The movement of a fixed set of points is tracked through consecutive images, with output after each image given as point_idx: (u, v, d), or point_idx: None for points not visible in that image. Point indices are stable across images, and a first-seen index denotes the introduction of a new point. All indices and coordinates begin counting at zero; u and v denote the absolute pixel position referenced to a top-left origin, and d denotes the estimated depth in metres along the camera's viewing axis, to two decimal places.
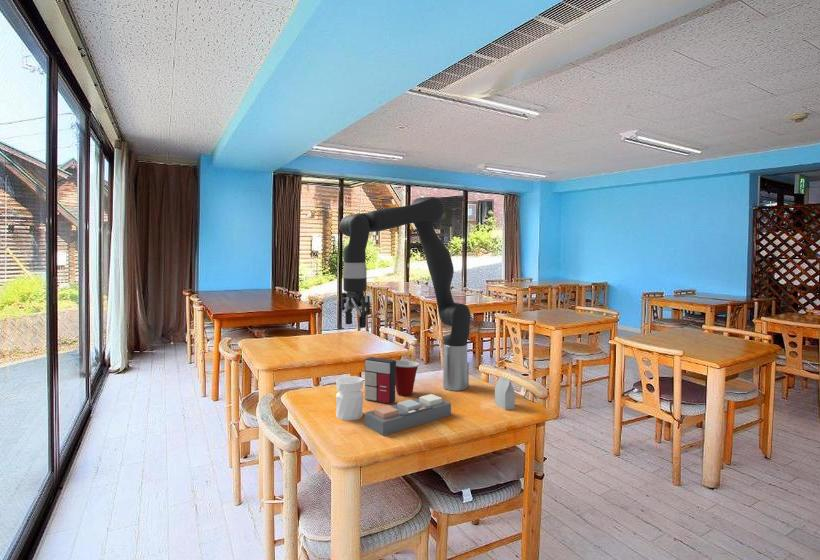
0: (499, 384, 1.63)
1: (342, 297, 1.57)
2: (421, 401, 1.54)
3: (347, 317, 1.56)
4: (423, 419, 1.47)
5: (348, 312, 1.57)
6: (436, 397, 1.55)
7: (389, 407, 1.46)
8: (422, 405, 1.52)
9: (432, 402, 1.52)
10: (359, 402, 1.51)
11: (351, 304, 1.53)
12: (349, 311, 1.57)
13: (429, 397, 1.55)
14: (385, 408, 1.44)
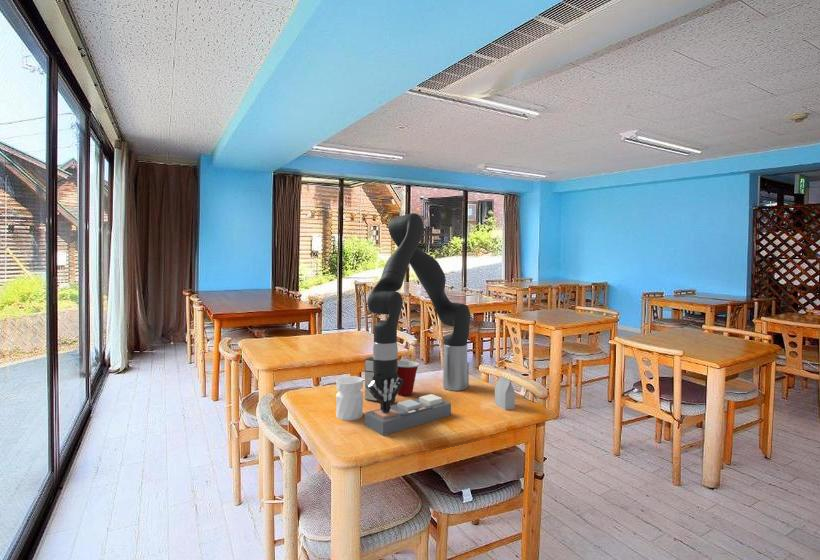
0: (499, 384, 1.63)
1: (373, 390, 1.39)
2: (421, 401, 1.54)
3: None
4: (423, 419, 1.47)
5: None
6: (436, 397, 1.55)
7: (389, 410, 1.46)
8: (422, 405, 1.52)
9: (432, 402, 1.52)
10: (359, 402, 1.51)
11: (388, 383, 1.43)
12: None
13: (429, 397, 1.55)
14: None
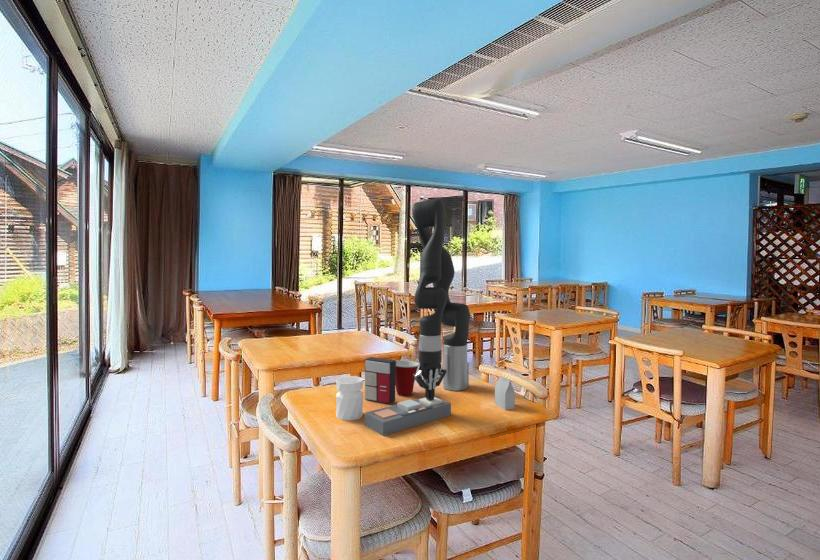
0: (499, 384, 1.63)
1: (420, 379, 1.50)
2: None
3: None
4: (423, 419, 1.47)
5: None
6: (436, 399, 1.55)
7: (389, 411, 1.46)
8: (422, 405, 1.52)
9: (432, 404, 1.52)
10: (359, 402, 1.51)
11: (433, 372, 1.54)
12: None
13: None
14: (385, 412, 1.44)
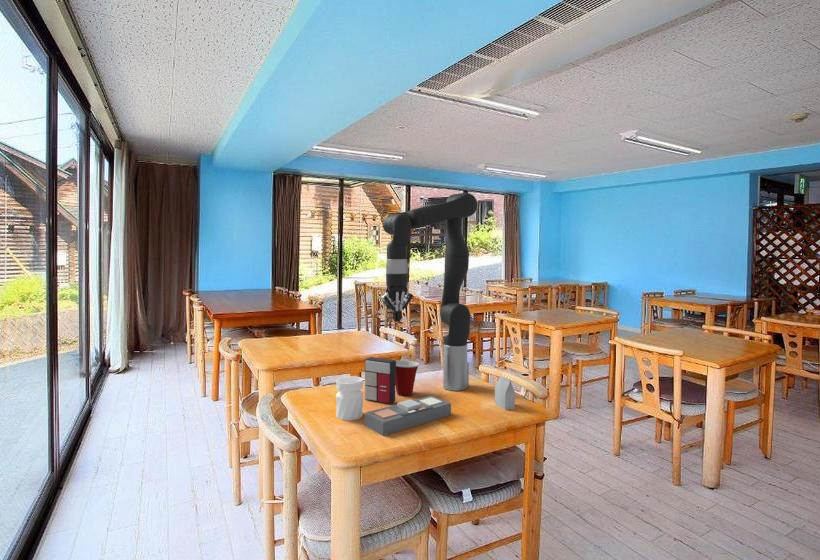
0: (499, 384, 1.63)
1: (387, 299, 1.60)
2: None
3: None
4: (423, 419, 1.47)
5: None
6: (436, 400, 1.55)
7: (389, 411, 1.46)
8: (422, 405, 1.52)
9: (432, 405, 1.52)
10: (359, 402, 1.51)
11: (400, 295, 1.63)
12: None
13: (429, 400, 1.55)
14: (385, 412, 1.44)
